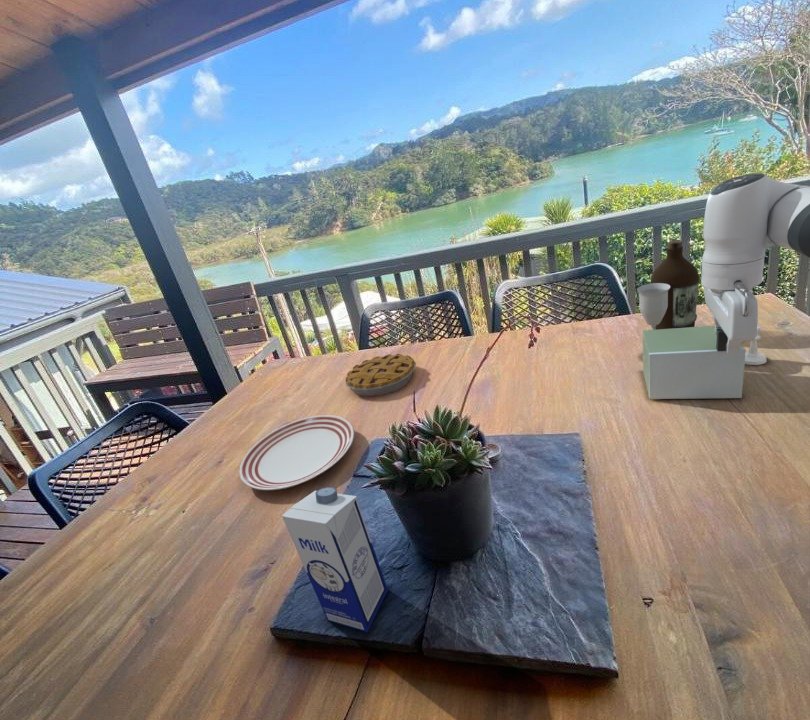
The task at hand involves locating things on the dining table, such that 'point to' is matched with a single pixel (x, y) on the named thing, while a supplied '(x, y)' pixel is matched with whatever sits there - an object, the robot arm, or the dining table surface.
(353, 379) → the pie
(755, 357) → the chess piece
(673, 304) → the dark brown necked cylinder
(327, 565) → the milk carton
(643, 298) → the chalice
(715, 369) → the sliding door
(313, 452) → the dinner plate
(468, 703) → the dining table surface
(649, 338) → the cabinet
